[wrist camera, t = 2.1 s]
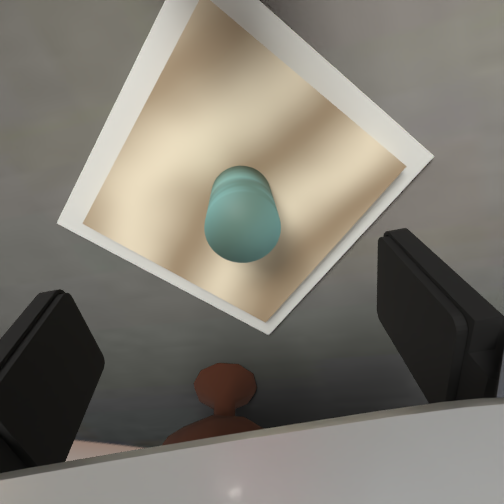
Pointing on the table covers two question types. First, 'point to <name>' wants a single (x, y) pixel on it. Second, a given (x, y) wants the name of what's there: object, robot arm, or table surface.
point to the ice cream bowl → (220, 403)
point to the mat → (300, 61)
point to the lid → (238, 170)
